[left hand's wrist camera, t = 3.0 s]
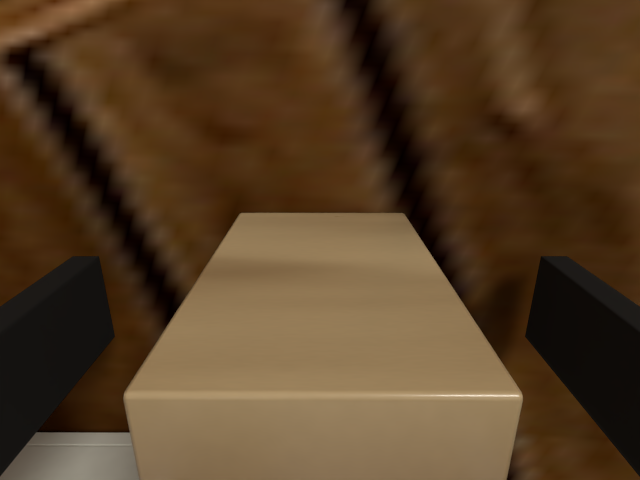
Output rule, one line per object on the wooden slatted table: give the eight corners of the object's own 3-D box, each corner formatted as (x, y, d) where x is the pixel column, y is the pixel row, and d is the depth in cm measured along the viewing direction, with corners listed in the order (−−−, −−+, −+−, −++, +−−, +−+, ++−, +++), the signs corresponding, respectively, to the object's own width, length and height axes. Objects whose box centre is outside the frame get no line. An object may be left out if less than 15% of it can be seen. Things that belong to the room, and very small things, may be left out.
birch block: (394, 352, 14) (475, 644, 7) (248, 352, 14) (168, 642, 7) (404, 212, 13) (527, 395, 5) (239, 211, 13) (118, 394, 5)
